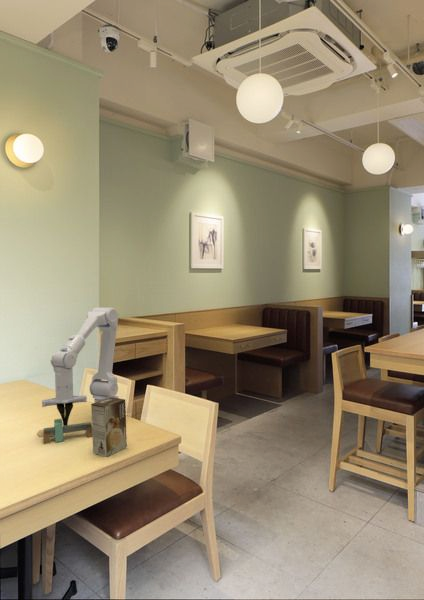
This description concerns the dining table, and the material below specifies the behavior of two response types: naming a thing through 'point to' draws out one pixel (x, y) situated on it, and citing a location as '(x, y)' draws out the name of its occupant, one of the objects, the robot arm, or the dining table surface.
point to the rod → (68, 430)
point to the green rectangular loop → (58, 430)
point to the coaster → (40, 433)
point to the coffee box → (109, 426)
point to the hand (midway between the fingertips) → (65, 424)
